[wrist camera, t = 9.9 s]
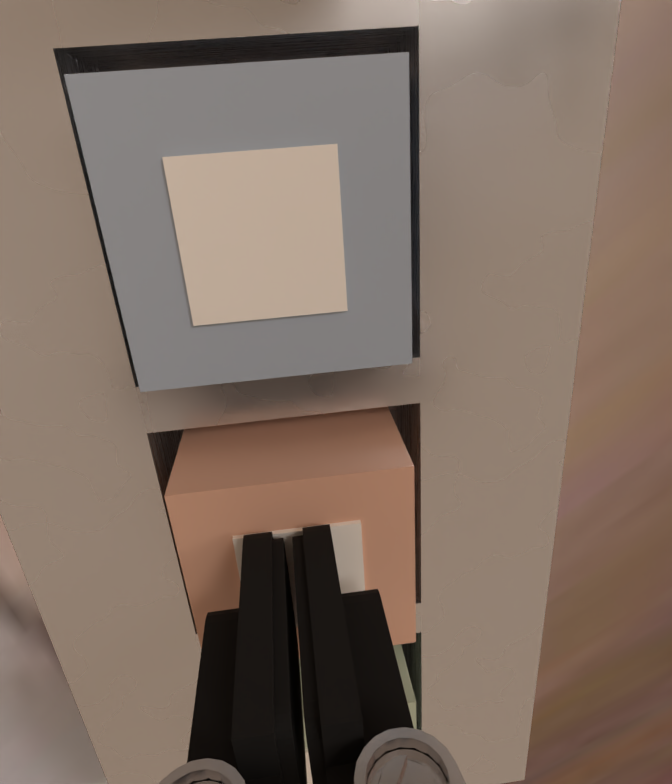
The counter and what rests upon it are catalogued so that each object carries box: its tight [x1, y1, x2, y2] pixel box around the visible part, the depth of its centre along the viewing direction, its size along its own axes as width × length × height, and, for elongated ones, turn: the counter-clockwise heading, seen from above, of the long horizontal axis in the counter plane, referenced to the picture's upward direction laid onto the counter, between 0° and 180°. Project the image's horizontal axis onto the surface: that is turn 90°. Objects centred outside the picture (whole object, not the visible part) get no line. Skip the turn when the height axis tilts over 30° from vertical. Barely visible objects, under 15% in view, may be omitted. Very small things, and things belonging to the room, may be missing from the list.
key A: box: [164, 407, 416, 659], centre depth 12 cm, size 4×4×4 cm
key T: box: [64, 52, 412, 392], centre depth 10 cm, size 4×4×4 cm
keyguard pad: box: [0, 0, 621, 784], centre depth 12 cm, size 12×28×3 cm, turn 4°
